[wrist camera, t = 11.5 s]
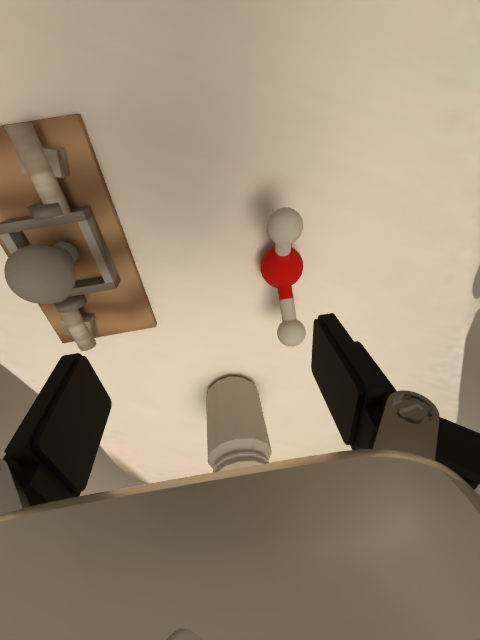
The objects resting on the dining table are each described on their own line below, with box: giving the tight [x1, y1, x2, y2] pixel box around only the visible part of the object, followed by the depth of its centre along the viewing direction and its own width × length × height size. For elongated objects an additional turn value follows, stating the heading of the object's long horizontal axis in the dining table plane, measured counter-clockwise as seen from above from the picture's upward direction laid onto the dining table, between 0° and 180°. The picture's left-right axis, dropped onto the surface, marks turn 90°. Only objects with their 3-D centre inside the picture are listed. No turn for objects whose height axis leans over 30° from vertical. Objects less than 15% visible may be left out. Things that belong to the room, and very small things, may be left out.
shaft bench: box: [0, 114, 157, 351], centre depth 33 cm, size 26×14×5 cm, turn 7°
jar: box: [206, 376, 271, 472], centre depth 46 cm, size 10×10×18 cm
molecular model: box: [261, 208, 306, 346], centre depth 35 cm, size 18×6×10 cm, turn 15°
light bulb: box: [5, 241, 79, 304], centre depth 30 cm, size 6×6×10 cm
